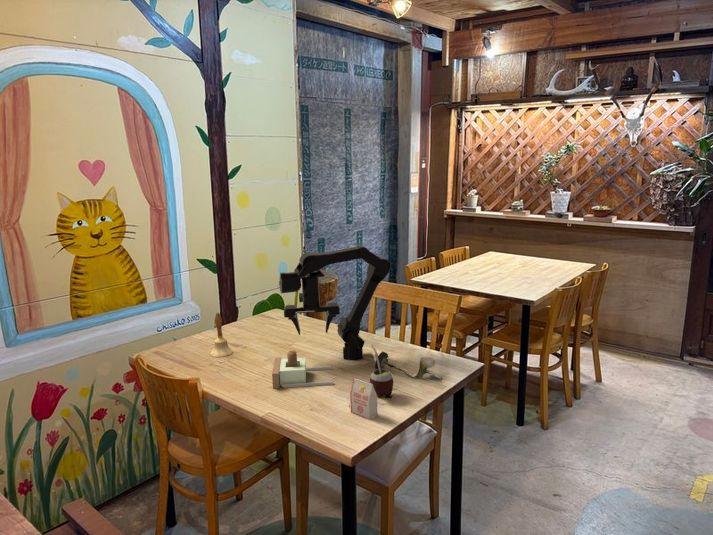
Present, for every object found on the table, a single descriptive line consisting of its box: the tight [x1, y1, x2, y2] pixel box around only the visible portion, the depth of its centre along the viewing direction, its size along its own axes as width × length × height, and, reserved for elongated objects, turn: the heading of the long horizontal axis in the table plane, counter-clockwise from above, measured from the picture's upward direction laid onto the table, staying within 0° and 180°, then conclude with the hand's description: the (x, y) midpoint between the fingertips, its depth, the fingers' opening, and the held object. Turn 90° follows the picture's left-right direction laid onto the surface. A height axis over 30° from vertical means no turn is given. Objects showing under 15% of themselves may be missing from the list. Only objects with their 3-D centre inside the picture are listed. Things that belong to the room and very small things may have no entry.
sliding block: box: [279, 357, 307, 387], centre depth 168 cm, size 8×10×5 cm
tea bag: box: [349, 377, 378, 421], centre depth 146 cm, size 4×7×10 cm, turn 50°
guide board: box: [271, 357, 335, 389], centre depth 168 cm, size 20×13×6 cm, turn 95°
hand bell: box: [210, 312, 234, 358], centre depth 193 cm, size 8×8×16 cm
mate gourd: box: [369, 344, 394, 400], centre depth 155 cm, size 8×8×15 cm
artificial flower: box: [374, 351, 442, 380], centre depth 171 cm, size 9×22×10 cm, turn 56°
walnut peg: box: [286, 350, 298, 367], centre depth 167 cm, size 3×3×8 cm
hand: (313, 333), depth 178 cm, fingers open, 9 cm apart
